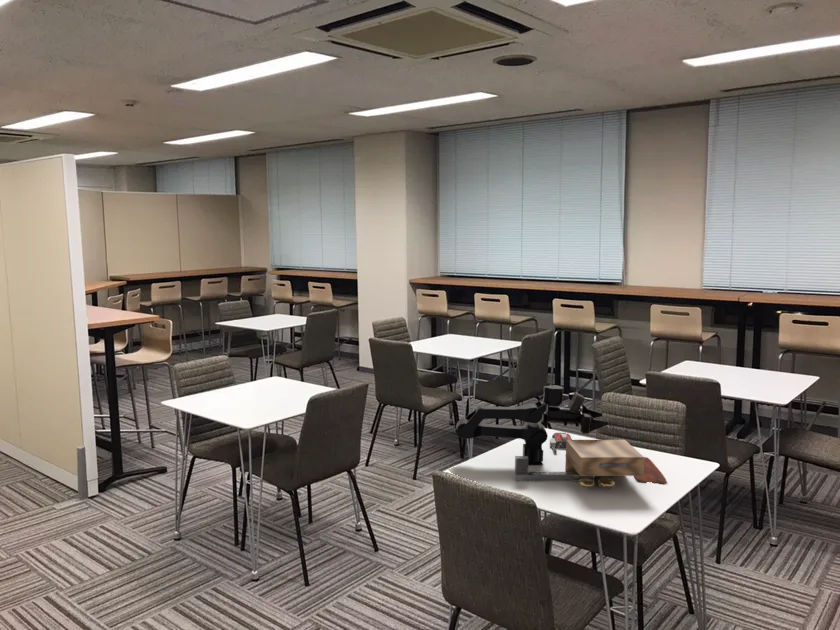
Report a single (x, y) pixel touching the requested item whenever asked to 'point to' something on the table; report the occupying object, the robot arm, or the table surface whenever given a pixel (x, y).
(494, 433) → the robot arm
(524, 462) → the gray l-shaped bracket
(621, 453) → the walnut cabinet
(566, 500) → the table surface
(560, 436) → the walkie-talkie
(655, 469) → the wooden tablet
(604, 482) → the brass disc
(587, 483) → the brass disc
